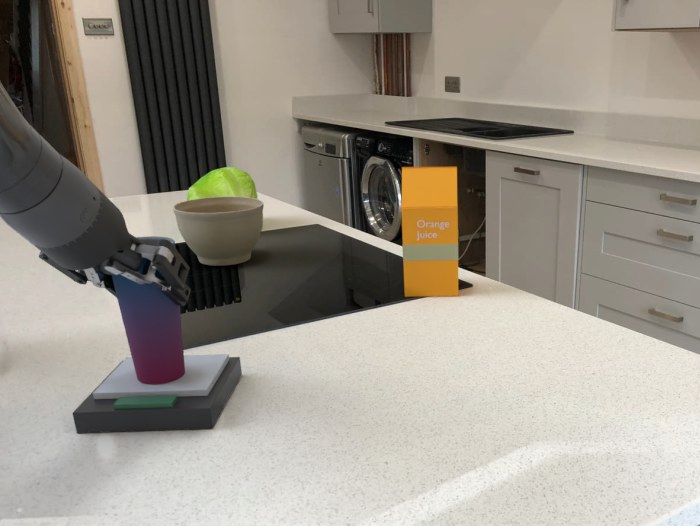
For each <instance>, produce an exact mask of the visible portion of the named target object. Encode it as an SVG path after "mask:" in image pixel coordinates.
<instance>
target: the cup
mask: <svg viewBox="0 0 700 526" xmlns="http://www.w3.org/2000/svg"><path fill="white" fill-rule="evenodd" d="M135 237H136V238H138V239H140V240H141V241H142V242H143V243H144V245H151V246H157V245H158V242H159V240H160V239H165V240H168V241H170V242H171V243H172V244H173V246H174V247H175V248H176V242H175V239H174V238H172V237H166V236H155V235H153V236H135ZM145 262H146V258H144V257H143V260H142V263H141V266H140V268H139V270H138V272H137V273H139V274H141V273H142V270H143V268H144V265H145ZM111 275H112V274H111ZM155 277H156V278H158V279H160V280H161V278H162V275H161V273H160V272H159V271H158V270H157V269H156V271H155ZM112 279H113V283H114V287H115V291H116V295H117V298H116V299H117V303H118V307H119V312H120V315H121V319H122V323H123V328H124V331H125V335H126V339H127V342H128V343H127V344H128V347H129V352H130V356H131V357H132V359H133V364H134V368H135V372H136V376H137V379H138V381H139V382H141V383H145V384H162V383H167V382H171V381H174V380H177V379H179V378H181V377H182V376H183V375H184V374H185V364H184V355H185V354H184V342H183V340H184V339H183V328H182V327H183V326H182V315H181V314H182V313H181V306H177V305H176V304H175V303H174V302H173V301H172V300H171V299H169V298H168V297H167V296H166V295H165V294H164V293H163V292H162V290H160V289H158V288H156V287H154V286H152V285H150V284H146V285H140V284H138V283H136V282H134V281H132V280H130V279H128V278H126V277H124V276H122V275H120V274H119V275H115V274H113V275H112Z"/></svg>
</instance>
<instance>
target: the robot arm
mask: <svg viewBox="0 0 700 526" xmlns="http://www.w3.org/2000/svg"><path fill="white" fill-rule="evenodd" d="M0 219H1V220H2V221H3V222H4V223H5V224H6V225H7V226H8V227H10V228H11V229H12V230H13V231H15V232H16V233H17V234H18V235H20V236H21V237H22V238H24V239H25V240H26V241H27V242H29V243H30V244H31V245H32V246H33V247H35V248H36V249H37V250H39V251H40V252H39V255H38V258H39V259H40V260H41V261H44V262H45V263H46V264H48V265H50V266H51V267H52V268H54V269H56V270H57V271H59V272H60V273H61V274H63V275H65V276H66V277H68V278H69V279H71V280H72V281H74V282H75V283H77V284H79V285H87V283H88V282H91V284H92V285H93V286H94V287H96V288H98V289H105V290H106V291H108V292H109V293H110V294H111V295H113V296H114V297H115V298H116V299H117V295H116V291H115V287H114V283H113V279H112V275H113V274H115V275H119V274H120V275H122V276H124V277H126V278H128V279H130V280H132V281H134V282H136V283H138V284H140V285H146V284H150V285H152V286H154V287H156V288H158V289H160V290H162V292H163V293H164V294H165V295H166V296H167V297H168V298H169V299H171V300H172V301H173V302H174V303H175V304H176V305H177V306H180V307H185V306H186V305H187V303H188V301H189V298H190V295H191V291H192V290H191V288H190V286H189V285H188V284H186V282H187V279H188V275H189V272H190V269H191V267H190V266H189V265H188V263H187V262H186V260H185V259H184V257H183V256H182V255H181V253H180V252H179V251H178V249H177V248H176V246H175V247H174V246H173V244H172V243H171V242H170V241H168V240H165V239H160V240H159V242H158V245H157V246H151V245H144V243H143V242H142V241H141V240H140V239H138V238H136V237H137V236H134V234H131V233H130V232H129V229H128V227H127V223H126V220H125V217H124V214H123V212H122V211H121V210H120V209H119V207H118V206H116V205H115V203H114V202H112V201H111V199H110V198H109V197H107V196H106V195H105V193H103V192H102V190H101V189H99V188H98V187H97V186H96V185H95V184H94V183H93V182H92V180H91V179H89V178H88V176H86V175H85V174H84V173H83V172H82V170H81V169H80V168H78V166H76V165H75V164H74V163H73V162H71V161H70V160H69V159H67V158H66V157H65V156H64V155H62V154H61V153H59V152H58V151H57V150H56V149H55V148H54V146H52V145H51V144H50V143H49V142H48V141H47V140H46V139H45V138H44V137H43V136H42V135H41V134H40V133H39V132H38V131H37V130H36V129H35V128H34V127H33V126H32V125H31V124H30V123H29V122H28V121H27V119H26V118H25V117H24V115H23V114H22V112H21V111H20V110H19V108H18V107H17V106H16V105H15V102H14V101H13V100H12V98H11V96H10V95H9V93H8V91H7V90H6V88H5V87H4V84H3V83H2V82H1V80H0ZM143 257H144V258H146V262H145V265H144V268H143V270H142V273H141V274H139V273H137V272H138V270H139V268H140V266H141V263H142V260H143ZM156 269H157V270H158V271H159V272H160V273H161V275H162V278H161V280H160V279H158V278H156V277H155V271H156ZM111 274H112V275H111Z"/></svg>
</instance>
